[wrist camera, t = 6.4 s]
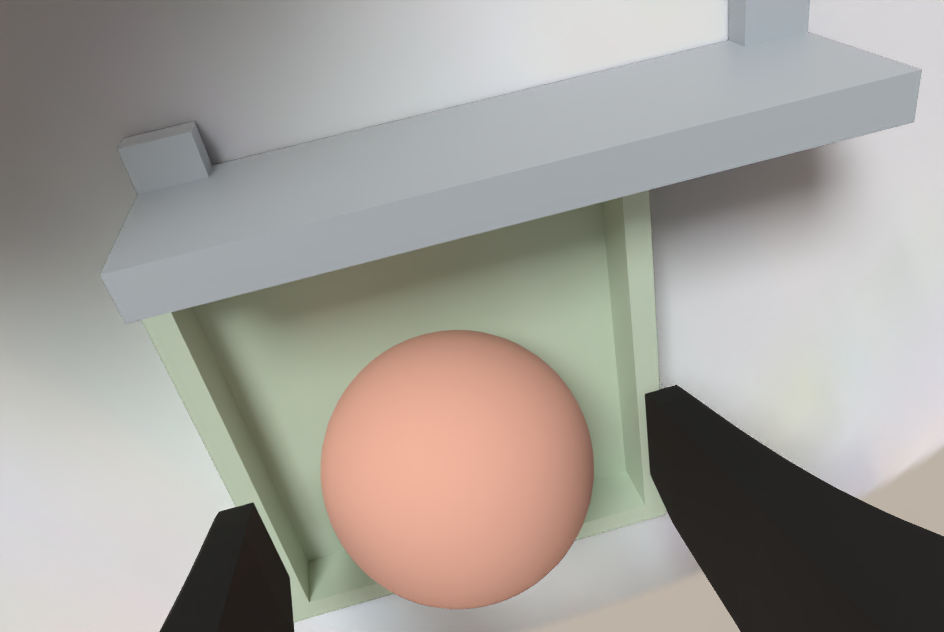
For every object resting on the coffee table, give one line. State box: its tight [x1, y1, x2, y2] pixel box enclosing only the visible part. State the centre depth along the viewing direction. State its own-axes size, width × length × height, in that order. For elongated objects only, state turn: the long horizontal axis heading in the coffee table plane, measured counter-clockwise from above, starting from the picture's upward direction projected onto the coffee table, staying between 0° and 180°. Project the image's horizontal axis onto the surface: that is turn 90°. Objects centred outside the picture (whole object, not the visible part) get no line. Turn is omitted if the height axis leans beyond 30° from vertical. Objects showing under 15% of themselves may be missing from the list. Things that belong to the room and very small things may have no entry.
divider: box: [100, 0, 922, 324], centre depth 12 cm, size 12×2×4 cm, turn 100°
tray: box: [142, 190, 666, 622], centre depth 16 cm, size 9×9×2 cm
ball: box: [321, 330, 594, 609], centre depth 14 cm, size 5×5×5 cm
